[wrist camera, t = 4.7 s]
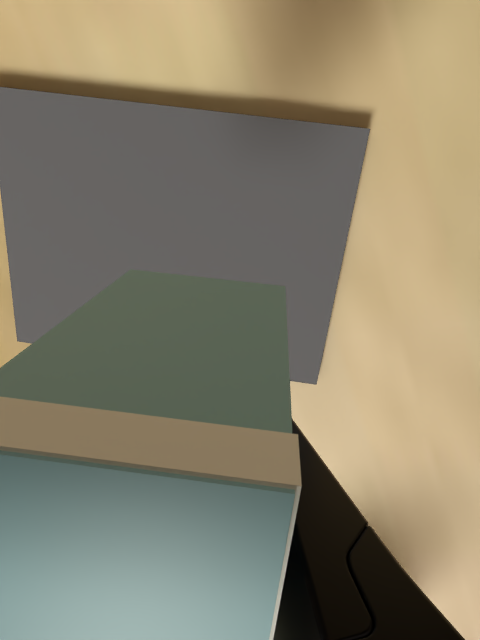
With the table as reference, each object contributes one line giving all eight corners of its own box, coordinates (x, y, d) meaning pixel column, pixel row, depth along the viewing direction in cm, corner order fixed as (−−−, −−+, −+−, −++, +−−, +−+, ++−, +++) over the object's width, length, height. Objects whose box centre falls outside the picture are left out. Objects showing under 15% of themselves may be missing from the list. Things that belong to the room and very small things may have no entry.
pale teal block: (288, 284, 9) (301, 491, 3) (259, 494, 11) (240, 820, 6) (128, 266, 9) (-105, 436, 4) (132, 477, 11) (-6, 777, 6)
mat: (367, 129, 17) (369, 128, 16) (315, 378, 21) (316, 384, 21) (-2, 87, 18) (-12, 85, 17) (23, 336, 22) (17, 341, 22)
